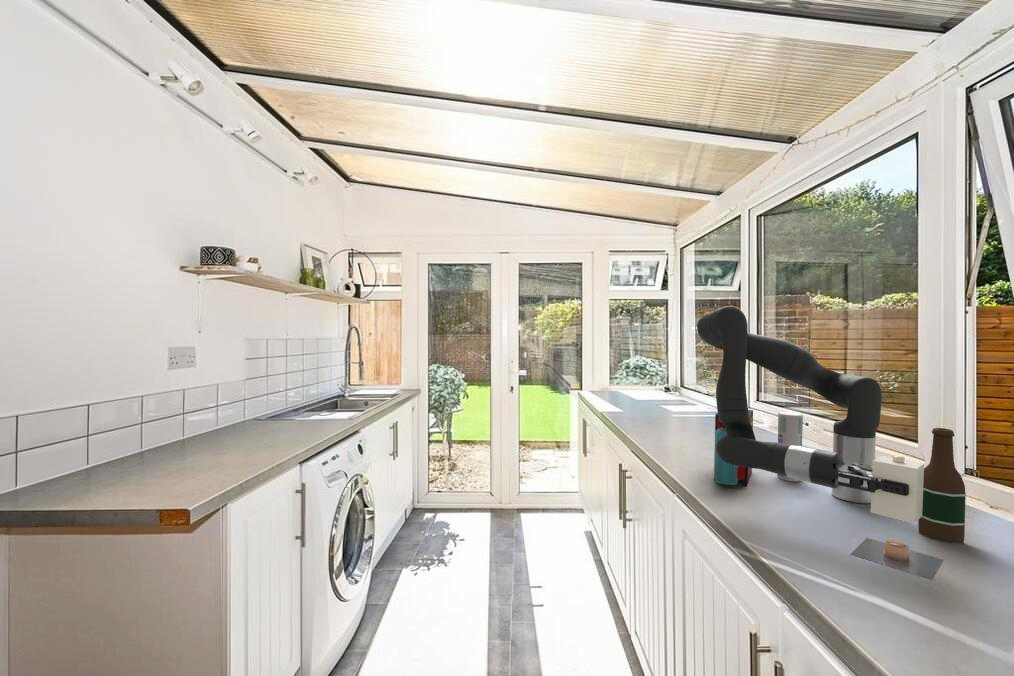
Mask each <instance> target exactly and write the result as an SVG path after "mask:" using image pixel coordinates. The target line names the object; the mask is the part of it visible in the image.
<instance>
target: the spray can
mask: <svg viewBox="0 0 1014 676" xmlns="http://www.w3.org/2000/svg"><path fill="white" fill-rule="evenodd" d="M777 413H778V414H777V443H782V444H787V445H793V446H803V429H804V427H803V425H804V422H803V421H804V415H803V414H802V413H798V412H793V411H792V412H790V411H779V412H777ZM777 478H778V479H781V480H783V481H787V482H800V481H801V480H798V479H795V478H792V477H789V476H785V475H781V474H777Z"/></svg>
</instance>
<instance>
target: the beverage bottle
mask: <svg viewBox="0 0 1014 676" xmlns="http://www.w3.org/2000/svg"><path fill="white" fill-rule="evenodd" d="M719 425H723V424H722V423H721V422H720V421H719ZM723 426H724V425H723ZM724 436H727V433H726V429H725V428H719V429H717V430H716V431H715V430H714V450H713V451H714V453H713V461H714V462H713V480H714V479H715V481H714V482H716V483H718V484H722V485H729V486H730V485H731V486H734V485H735V484H737V483H738V477H739V473H738V466H736V465H731V464H728V463H726V462H724V461H723V460H722V459H721V458H720V457H719V456H718V454H717V451H716V445H717V442H718V441H719V440H720V439H721V438H722V437H724Z"/></svg>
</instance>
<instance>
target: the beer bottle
mask: <svg viewBox="0 0 1014 676" xmlns="http://www.w3.org/2000/svg"><path fill="white" fill-rule="evenodd" d="M931 433H932V435H933V436H932V444H931V446H932V447H931V456H930V459H929V464H928V465H926V466H924V483H923V508H922V516H921V517H920V519H919V520H918V521H917V526H918V527H917V528H918V533H919V534H921V535H922V536H924V537H927V538H929V539H932V540H936V541H940V542H945V543H949V544H963V545H964V544H965V543H964V542H965V535H966V534H965V531H966V527H965V526H966V497H967V496H966V485H965V482H964V481H963V477H962V475H961V474H960V472H959V471H958V470H957V468H956V465H955V460H954V459H955V457H954V441H953V439H954V438H953V437H955V433H954V430H952V429H949V428H943V427H934V428H932V430H931Z"/></svg>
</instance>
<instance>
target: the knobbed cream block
mask: <svg viewBox="0 0 1014 676" xmlns="http://www.w3.org/2000/svg"><path fill="white" fill-rule="evenodd" d="M924 468H925V462H920V461H913V460H908V459H906V458H905V457H904V456H900V455H892V457H891V456H885V455H880V456H878V457H875V460H873V464H872V476H875V477H880V478H882V479H887V480H891V481H896V482H901V483H906V484H908V485H909V494H908V495H907V496H903V495H899V494H894V493H890V492H885V491H883V490H882V492H877V491H875V493H874V492H873V493H871V503H870V513H872V514H876V515H878V516H879V515H880V516H883V517H888V518H890V519H895V520H900V521H903V522H907V523H911V524H914V525H915V524H916V523H918V520H919V519H920V517H921V516H922V508H923V483H924Z"/></svg>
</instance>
